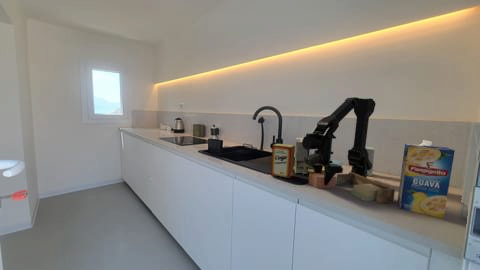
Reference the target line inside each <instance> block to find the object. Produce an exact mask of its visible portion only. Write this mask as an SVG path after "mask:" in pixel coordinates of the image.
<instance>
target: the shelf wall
mask: <svg viewBox="0 0 480 270" xmlns="http://www.w3.org/2000/svg"><path fill="white" fill-rule="evenodd" d="M348 174H354V179H353V185H352V186H354V185H359V184H372V185H374V186H377V187H379V188H382V189H377V198H376V201H375V203H376V204H390V203H391V204H392V203H394V198H395V192H396V191H395V188H392V187H390V186H387V185H385V184H383V183H379V182H378V181H375V180H374V179H373V180H372V179H370V178H368V177H367V178H365V177H363V176H360V175H358V174H355V173H353V172H351V171H349V172H348Z"/></svg>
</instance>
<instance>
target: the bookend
mask: <svg viewBox="0 0 480 270" xmlns="http://www.w3.org/2000/svg"><path fill="white" fill-rule="evenodd" d="M353 179H354V174H349V173H336V180H335V185H336V186H351V185H352V186H354V185H353Z"/></svg>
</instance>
